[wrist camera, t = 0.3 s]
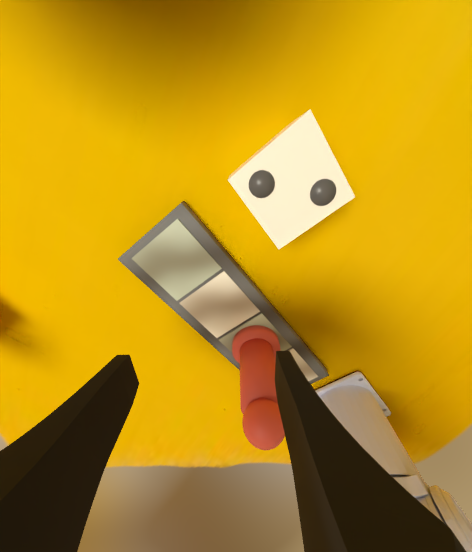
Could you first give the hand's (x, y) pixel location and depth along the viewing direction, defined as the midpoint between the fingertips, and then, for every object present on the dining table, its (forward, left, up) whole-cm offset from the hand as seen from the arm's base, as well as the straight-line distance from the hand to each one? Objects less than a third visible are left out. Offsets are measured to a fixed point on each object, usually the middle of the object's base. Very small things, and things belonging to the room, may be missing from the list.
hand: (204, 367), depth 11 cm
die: (+3, -8, -10) cm, 14 cm away
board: (-5, +2, -10) cm, 11 cm away
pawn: (-8, +2, -9) cm, 12 cm away
